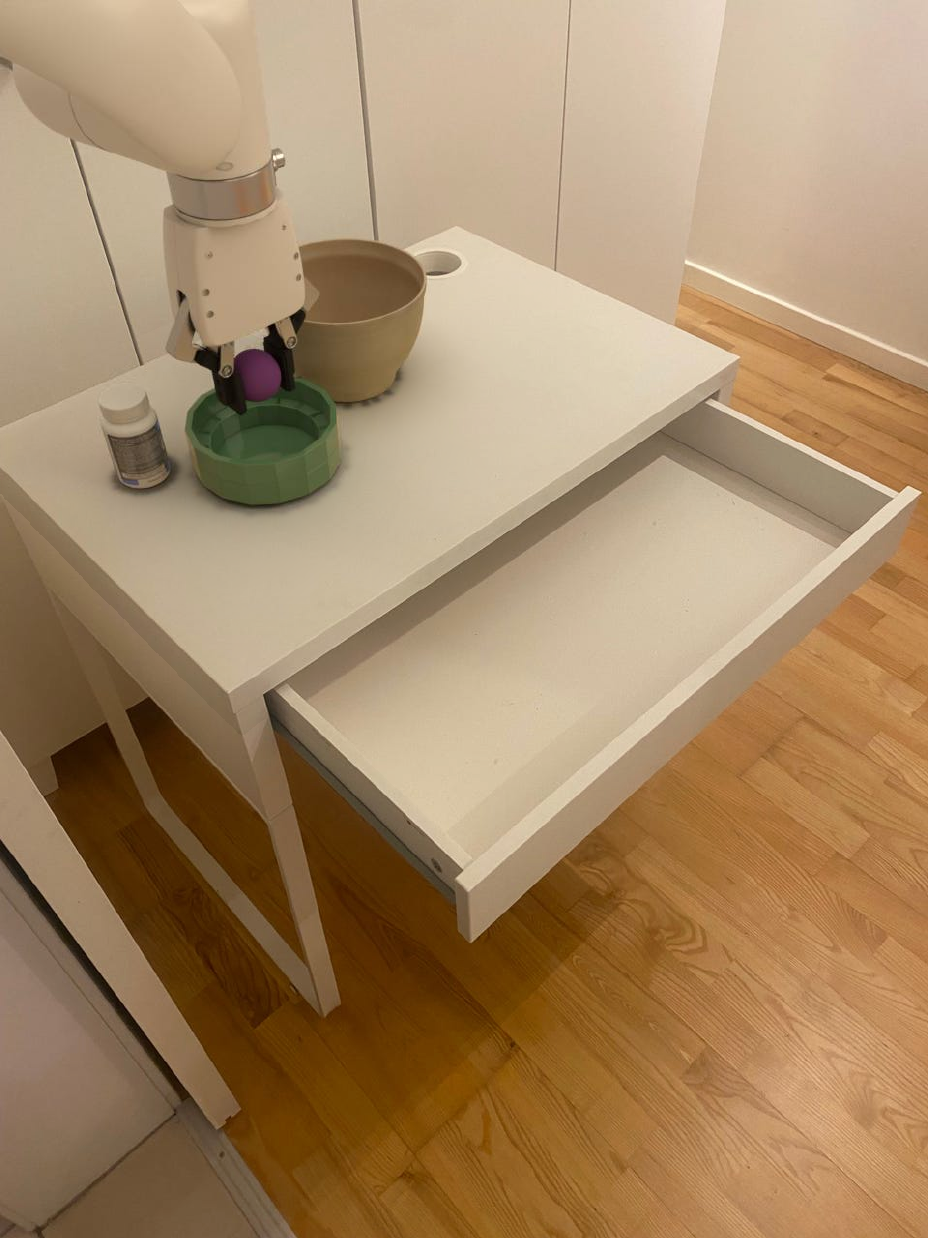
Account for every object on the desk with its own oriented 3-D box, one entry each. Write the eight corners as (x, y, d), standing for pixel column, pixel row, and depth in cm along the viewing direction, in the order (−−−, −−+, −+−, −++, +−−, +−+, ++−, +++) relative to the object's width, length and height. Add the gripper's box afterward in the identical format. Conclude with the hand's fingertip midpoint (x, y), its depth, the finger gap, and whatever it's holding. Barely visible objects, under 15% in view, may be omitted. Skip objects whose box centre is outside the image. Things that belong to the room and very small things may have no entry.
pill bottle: (182, 472, 87) (162, 395, 81) (137, 497, 85) (113, 419, 79) (151, 449, 89) (129, 372, 83) (107, 473, 87) (81, 395, 81)
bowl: (170, 491, 85) (157, 446, 82) (235, 407, 94) (227, 363, 90) (307, 522, 83) (301, 478, 79) (361, 433, 92) (358, 389, 88)
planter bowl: (439, 341, 102) (439, 243, 94) (411, 432, 92) (409, 331, 84) (293, 326, 104) (280, 228, 96) (248, 415, 93) (230, 313, 85)
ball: (224, 406, 82) (215, 362, 79) (246, 378, 85) (238, 334, 82) (271, 416, 81) (264, 372, 78) (292, 387, 84) (286, 343, 81)
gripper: (286, 136, 75) (309, 341, 89) (91, 200, 67) (149, 415, 81) (346, 168, 72) (361, 377, 85) (147, 239, 64) (199, 457, 77)
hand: (257, 393), depth 83 cm, fingers closed on ball, 4 cm apart
